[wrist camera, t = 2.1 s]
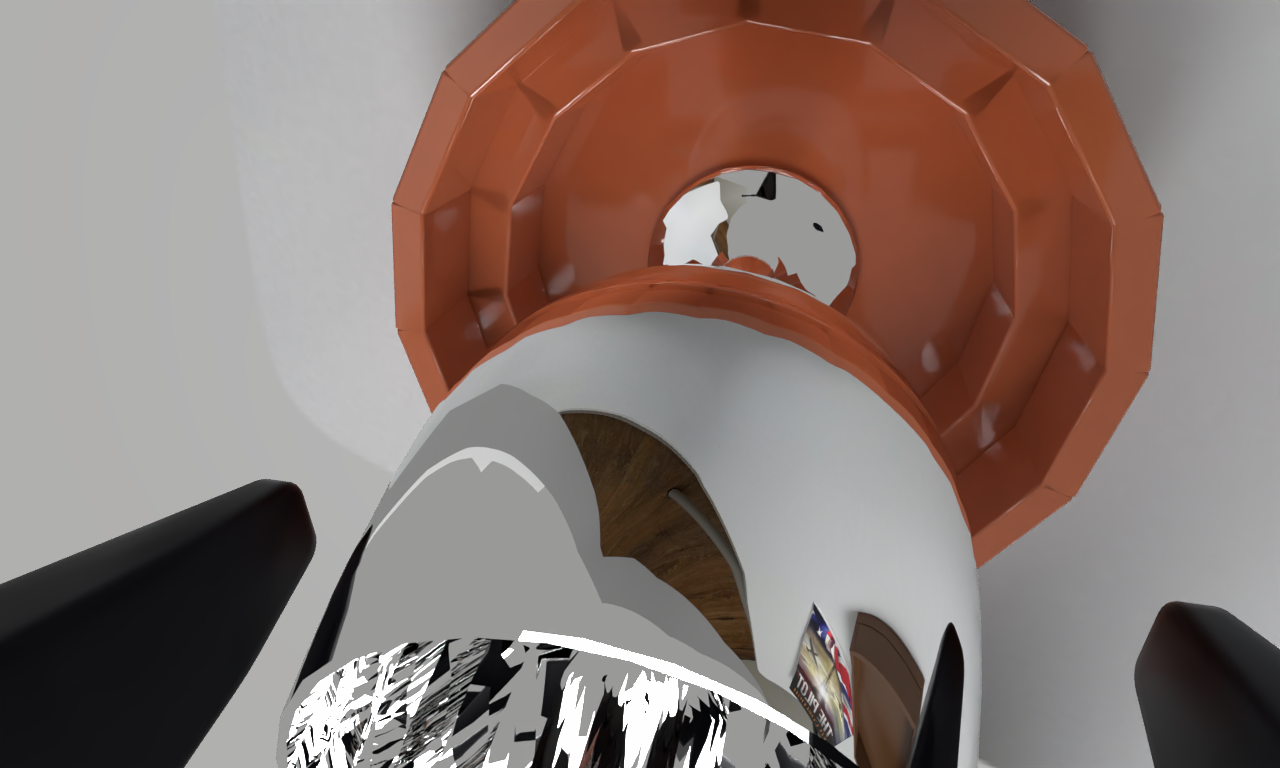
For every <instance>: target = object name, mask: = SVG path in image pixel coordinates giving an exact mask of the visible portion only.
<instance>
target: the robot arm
mask: <svg viewBox="0 0 1280 768" xmlns="http://www.w3.org/2000/svg"><path fill="white" fill-rule="evenodd" d="M315 548H316V534H315V531H314V528H313V524H312V522H311V518H310V515H309V512H308V509H307V506H306V502H305V499H304V496H303V493H302V491H301V490H300V488H299V487H298V486H297V485H296V484H294V483H292V482H286V481H278V480H271V479H261V480H257V481H254V482H252V483H250V484H247V485H245V486H243V487H240V488H237V489H235V490H232V491H230V492H227V493H225V494H222V495H220V496H217V497H215V498H212V499H210V500H207V501H205V502H203V503H200V504H198V505H195V506H193V507H190V508H188V509H185V510H183V511H180V512H178V513H175V514H173V515H170V516H168V517H165V518H163V519H161V520H158V521H156V522H153V523H151V524H148V525H146V526H143V527H141V528H138V529H136V530H133V531H131V532H128V533H126V534H124V535H121V536H119V537H116V538H114V539H111V540H109V541H106V542H104V543H102V544H99V545H96V546H94V547H92V548H89V549H86V550H84V551H81V552H79V553H77V554H74V555H72V556H69V557H67V558H64V559H62V560H59V561H57V562H54V563H52V564H49V565H47V566H44V567H42V568H40V569H37V570H35V571H32V572H30V573H27V574H25V575H22V576H20V577H17V578H15V579H12V580H10V581H7V582H5V583H3V584H0V768H184V767H185V765H186V764H187V763H188V761H189V759H190V758H191V757H192V755H193V754H194V752H195V751H196V749H197V748H198V746H199V745H200V743H201V742H202V741H203V739H204V737H205V736H206V735H207V733H208V732H209V730H210V729H211V727H212V726H213V724H214V723H215V721H216V720H217V718H218V717H219V716H220V714H221V713H222V711H223V710H224V708H225V707H226V705H227V704H228V702H229V701H230V699H231V698H232V696H233V695H234V694H235V692H236V690H237V689H238V687H239V686H240V684H241V683H242V681H243V680H244V678H245V676H246V675H247V674H248V672H249V670H250V668H251V667H252V665H253V663H254V662H255V660H256V658H257V656H258V655H259V653H260V651H261V649H262V648H263V646H264V644H265V642H266V640H267V639H268V637H269V635H270V633H271V631H272V630H273V628H274V626H275V624H276V622H277V621H278V619H279V617H280V615H281V614H282V612H283V610H284V608H285V606H286V605H287V603H288V601H289V599H290V597H291V595H292V594H293V592H294V590H295V588H296V587H297V585H298V583H299V581H300V579H301V578H302V576H303V574H304V572H305V570H306V569H307V567H308V565H309V563H310V561H311V559H312V557H313V555H314V552H315ZM1134 680H1135V688H1136V693H1137V697H1138V701H1139V705H1140V709H1141V713H1142V718H1143V722H1144V726H1145V730H1146V734H1147V738H1148V742H1149V746H1150V751H1151V755H1152V759H1153V763H1154V767H1155V768H1280V649H1279V648H1277V647H1276V646H1274V645H1273V644H1272V643H1270V642H1269V641H1268V640H1266V639H1265V638H1264V637H1262V636H1261V635H1259V634H1258V633H1257V632H1255V631H1254V630H1253V629H1251V628H1250V627H1249V626H1247V625H1246V624H1244V623H1243V622H1242V621H1240V620H1239V619H1238V618H1236V617H1235V616H1234V615H1232V614H1231V613H1229V612H1228V611H1226V610H1224V609H1222V608H1218V607H1215V606H1208V605H1201V604H1193V603H1186V602H1179V601H1175V602H1169V603H1167V604H1165V605H1164V606H1163V607H1162V608H1161V610H1160V611H1159V613H1158V615H1157V617H1156V619H1155V621H1154V624H1153V626H1152V628H1151V630H1150V632H1149V634H1148V637H1147V639H1146V641H1145V643H1144V645H1143V648H1142V650H1141V652H1140V654H1139V656H1138V659H1137V662H1136V665H1135V673H1134Z"/></svg>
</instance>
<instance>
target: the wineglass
mask: <svg viewBox="0 0 1280 768" xmlns="http://www.w3.org/2000/svg"><path fill="white" fill-rule="evenodd" d="M859 273H860V258H859V251H858V248H857V244H856V240H855V236H854V233H853V229H852V227H851V225H850V224H849V222H848V220H847V218H846V217H845V215H844V213H843V212H842V210H841V208H840V206H839V205H838V204H837V203H836V202H835V201H834V200H833V199H832V198H831V197H830V196H829V195H828V194H827V193H826V192H825V191H824V190H823V189H822V188H821V187H819V186H818V185H816V184H814V183H813V182H811V181H809V180H807V179H806V178H804V177H802V176H801V175H799V174H797V173H794V172H790V171H787V170H784V169H780V168H777V167H773V166H762V165H742V166H736V167H730V168H724V169H721V170H719V171H716V172H714V173H711V174H709V175H706V176H704V177H701V178H700V179H698V180H697V181H695V182H694V183H692V184H691V185H689V186H688V187H686V188H685V189H683V190H682V191H681V192H680V193H679V194H678V195H677V196H676V197H675V198H674V200H673V201H672V202H671V203H670V204H669V205H668V206H667V207H666V209H665V211H664V212H663V214H662V215H661V217H660V219H659V220H658V222H657V224H656V227H655V229H654V232H653V234H652V237H651V240H650V245H649V250H648V260H647V268H640V269H634V270H628V271H623V272H619V273H616V274H613V275H610V276H607V277H604V278H601V279H597V280H594V281H591V282H588V283H585V284H584V285H582V286H580V287H578V288H576V289H574V290H572V291H570V292H568V293H567V294H565V295H563V296H561V297H559V298H557V299H555V300H553V301H552V302H550V303H548V304H547V305H545V306H544V307H542V308H541V309H539V310H538V311H536V312H535V313H533V314H532V315H530V316H529V317H527V318H526V319H524V320H523V321H521V322H520V323H518V324H517V325H515V326H514V327H512V328H511V329H510V330H508V331H507V332H506V333H505V334H503V335H502V336H501V337H500V338H499V339H498V340H497V341H496V342H494V343H493V344H492V345H491V346H490V347H489V348H488V349H487V350H486V351H485V352H484V353H483V354H482V355H481V356H480V357H479V358H478V359H477V360H476V361H475V362H474V363H473V364H472V365H471V366H470V367H469V368H468V369H467V370H466V371H465V373H464V374H463V375H462V376H461V378H460V379H459V380H458V381H457V383H456V384H455V385H454V386H453V387H452V389H451V390H450V391H449V392H448V394H447V395H446V396H445V397H444V399H443V400H442V401H441V402H440V403H439V405H438V406H437V407H436V408H435V410H434V411H433V413H432V414H431V416H430V417H429V419H428V420H427V422H426V423H425V424H424V426H423V428H422V429H421V431H420V433H419V434H418V436H417V438H416V439H415V441H414V443H413V444H412V446H411V447H410V449H409V451H408V452H407V454H406V456H405V457H404V459H403V461H402V462H401V464H400V466H399V467H398V469H397V471H396V472H395V474H394V475H393V477H392V479H391V481H390V483H389V485H388V487H387V489H386V491H385V493H384V495H383V497H382V498H381V501H380V502H379V504H378V506H377V508H376V510H375V512H374V514H373V516H372V518H371V520H370V522H369V524H368V526H367V528H366V529H365V531H364V533H363V535H362V537H361V539H360V540H359V542H358V544H357V546H356V548H355V550H354V552H353V553H352V555H351V557H350V559H349V561H348V563H347V564H346V567H345V569H344V571H343V573H342V575H341V577H340V579H339V582H338V584H337V586H336V588H335V590H334V592H333V594H332V597H331V599H330V601H329V603H328V606H327V608H326V610H325V612H324V614H323V616H322V619H321V621H320V623H319V625H318V628H317V630H316V632H315V634H314V637H313V639H312V642H311V644H310V646H309V649H308V651H307V654H306V656H305V658H304V661H303V663H302V666H301V668H300V671H299V673H298V676H297V678H296V680H295V683H294V685H293V688H292V690H291V692H290V695H289V698H288V700H287V703H286V705H285V707H284V709H283V712H282V714H281V717H280V725H279V734H278V744H277V754H276V760H277V764H278V767H279V768H978V755H979V734H980V713H981V693H982V643H981V615H980V598H979V586H978V576H977V567H976V561H975V555H974V549H973V543H972V538H971V532H970V526H969V522H968V518H967V514H966V510H965V506H964V502H963V498H962V494H961V490H960V486H959V482H958V478H957V475H956V472H955V469H954V465H953V462H952V459H951V457H950V455H949V453H948V450H947V448H946V446H945V444H944V442H943V439H942V437H941V435H940V433H939V431H938V429H937V427H936V425H935V423H934V421H933V419H932V417H931V414H930V413H929V411H928V410H927V408H926V406H925V405H924V403H923V402H922V400H921V399H920V397H919V395H918V394H917V392H916V391H915V389H914V387H913V386H912V384H911V383H910V381H909V380H908V378H907V376H906V375H905V374H904V372H903V371H902V370H901V369H900V368H899V367H898V366H897V364H896V363H895V362H894V361H893V360H892V359H891V357H890V356H889V355H888V354H887V353H886V352H885V351H884V349H883V348H882V347H881V346H880V345H879V344H878V343H877V342H876V341H875V340H874V339H873V338H871V337H870V336H869V335H868V334H867V333H866V332H865V331H864V330H863V329H861V328H860V327H859V326H858V325H857V324H856V323H855V322H853V321H852V320H850V319H849V318H847V317H846V314H847V313H848V311H849V309H850V307H851V305H852V302H853V300H854V297H855V294H856V291H857V286H858V281H859Z"/></svg>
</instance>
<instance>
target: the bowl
mask: <svg viewBox="0 0 1280 768" xmlns="http://www.w3.org/2000/svg"><path fill="white" fill-rule="evenodd" d="M742 165H762V166H773V167H777V168H780V169H784V170H787V171H790V172H794V173H797V174H799V175H801V176H802V177H804V178H806V179H807V180H809V181H811V182H813V183H814V184H816V185H818V186H819V187H821V188H822V189H823V190H824V191H825V192H826V193H827V194H828V195H829V196H830V197H831V198H832V199H833V200H834V201H835V202H836V203H837V204H838V205H839V206H840V208H841V210H842V212H843V213H844V215H845V217H846V218H847V220H848V222H849V224H850V225H851V227H852V229H853V233H854V236H855V240H856V244H857V248H858V251H859V258H860V273H859V281H858V286H857V291H856V294H855V297H854V300H853V302H852V305H851V307H850V309H849V311H848V313H847V314H846V317H847V318H849V319H850V320H852V321H853V322H855V323H856V324H857V325H858V326H859V327H860V328H861V329H863V330H864V331H865V332H866V333H867V334H868V335H869V336H870V337H871V338H873V339H874V340H875V341H876V342H877V343H878V344H879V345H880V346H881V347H882V348H883V349H884V351H885V352H886V353H887V354H888V355H889V356H890V357H891V359H892V360H893V361H894V362H895V363H896V364H897V366H898V367H899V368H900V369H901V370H902V371H903V372H904V374H905V375H906V376H907V378H908V380H909V381H910V383H911V384H912V386H913V387H914V389H915V391H916V392H917V394H918V395H919V397H920V399H921V400H922V402H923V403H924V405H925V406H926V408H927V410H928V411H929V413H930V414H931V417H932V419H933V421H934V423H935V425H936V427H937V429H938V431H939V433H940V435H941V437H942V439H943V442H944V444H945V446H946V448H947V450H948V453H949V455H950V457H951V459H952V462H953V465H954V469H955V472H956V475H957V478H958V482H959V486H960V490H961V494H962V498H963V502H964V506H965V510H966V514H967V518H968V522H969V526H970V532H971V538H972V543H973V549H974V555H975V561H976V567H977V569H978V568H980V567H981V566H982V565H984V564H985V563H987V562H988V561H989V560H991V559H992V558H993V557H995V556H996V555H997V554H999V553H1000V552H1001V551H1003V550H1004V549H1006V548H1007V547H1008V546H1010V545H1011V544H1012V543H1014V542H1015V541H1016V540H1018V539H1019V538H1020V537H1022V536H1023V535H1024V534H1026V533H1027V532H1029V531H1030V530H1031V529H1033V528H1034V527H1035V526H1037V525H1038V524H1039V523H1041V522H1042V521H1043V520H1045V519H1046V518H1048V517H1049V516H1050V515H1052V514H1053V513H1054V512H1056V511H1057V510H1058V509H1060V508H1061V507H1062V506H1064V505H1065V504H1067V503H1068V502H1069V501H1071V499H1072V497H1075V496H1076V495H1077V493H1078V491H1079V490H1080V488H1081V486H1082V485H1083V483H1084V481H1085V480H1086V478H1087V476H1088V475H1089V473H1090V471H1091V470H1092V468H1093V466H1094V465H1095V463H1096V462H1097V460H1098V458H1099V457H1100V455H1101V453H1102V452H1103V450H1104V448H1105V447H1106V445H1107V443H1108V442H1109V440H1110V438H1111V437H1112V435H1113V433H1114V432H1115V430H1116V428H1117V427H1118V425H1119V423H1120V422H1121V420H1122V418H1123V417H1124V415H1125V414H1126V412H1127V410H1128V409H1129V407H1130V405H1131V404H1132V402H1133V400H1134V399H1135V397H1136V395H1137V394H1138V392H1139V390H1140V389H1141V387H1142V385H1143V384H1144V382H1145V380H1146V379H1147V377H1148V374H1149V371H1150V369H1151V358H1152V346H1153V335H1154V323H1155V311H1156V300H1157V288H1158V276H1159V265H1160V253H1161V241H1162V230H1163V218H1164V215H1163V213H1162V212H1161V204H1160V202H1159V200H1158V198H1157V195H1156V193H1155V191H1154V189H1153V186H1152V184H1151V182H1150V180H1149V177H1148V175H1147V173H1146V171H1145V169H1144V166H1143V164H1142V162H1141V160H1140V157H1139V155H1138V153H1137V151H1136V148H1135V146H1134V144H1133V142H1132V139H1131V137H1130V135H1129V133H1128V130H1127V128H1126V126H1125V124H1124V121H1123V119H1122V117H1121V115H1120V112H1119V110H1118V108H1117V106H1116V103H1115V101H1114V99H1113V97H1112V94H1111V92H1110V90H1109V88H1108V85H1107V83H1106V81H1105V79H1104V76H1103V74H1102V72H1101V70H1100V68H1099V65H1098V63H1097V61H1096V59H1095V56H1094V54H1093V53H1092V52H1091V51H1090V50H1088V46H1087V44H1086V43H1084V42H1083V41H1082V40H1080V39H1079V38H1078V37H1076V36H1075V35H1074V34H1072V33H1071V32H1070V31H1068V30H1067V29H1066V28H1064V27H1063V26H1062V25H1060V24H1059V23H1058V22H1056V21H1055V20H1054V19H1052V18H1051V17H1050V16H1048V15H1047V14H1046V13H1044V12H1043V11H1042V10H1040V9H1039V8H1038V7H1036V6H1035V5H1034V4H1032V3H1031V2H1030V1H1028V0H514V1H513V2H512V3H511V4H510V5H509V6H508V7H507V8H506V9H505V10H504V11H503V12H502V13H501V14H500V15H499V16H498V17H497V18H496V19H495V20H494V21H492V22H491V23H490V24H489V25H488V26H487V27H486V28H485V29H484V30H483V31H482V32H481V33H480V34H479V35H478V36H477V37H476V38H475V39H474V40H473V41H472V42H470V43H469V44H468V45H467V46H466V47H465V48H464V49H463V50H462V51H461V52H460V53H459V54H458V55H457V56H456V57H455V58H454V59H453V60H452V61H451V62H450V63H449V64H447V66H446V68H445V70H444V71H443V72H442V74H441V76H440V79H439V81H438V84H437V87H436V89H435V92H434V94H433V97H432V99H431V102H430V105H429V107H428V110H427V112H426V115H425V117H424V120H423V123H422V125H421V128H420V130H419V133H418V135H417V138H416V141H415V143H414V146H413V148H412V151H411V154H410V156H409V159H408V161H407V164H406V166H405V169H404V172H403V174H402V177H401V179H400V182H399V184H398V187H397V190H396V192H395V195H394V197H393V201H394V202H393V203H392V232H393V260H394V289H395V317H396V328H397V329H398V335H399V337H400V339H401V342H402V344H403V346H404V349H405V351H406V354H407V356H408V358H409V361H410V363H411V365H412V368H413V370H414V373H415V375H416V377H417V380H418V382H419V384H420V387H421V389H422V392H423V394H424V396H425V399H426V401H427V404H428V406H429V408H430V411H431V413H433V411H434V410H435V408H436V407H437V406H438V405H439V403H440V402H441V401H442V400H443V399H444V397H445V396H446V395H447V394H448V392H449V391H450V390H451V389H452V387H453V386H454V385H455V384H456V383H457V381H458V380H459V379H460V378H461V376H462V375H463V374H464V373H465V371H466V370H467V369H468V368H469V367H470V366H471V365H472V364H473V363H474V362H475V361H476V360H477V359H478V358H479V357H480V356H481V355H482V354H483V353H484V352H485V351H486V350H487V349H488V348H489V347H490V346H491V345H492V344H493V343H494V342H496V341H497V340H498V339H499V338H500V337H501V336H502V335H503V334H505V333H506V332H507V331H508V330H510V329H511V328H512V327H514V326H515V325H517V324H518V323H520V322H521V321H523V320H524V319H526V318H527V317H529V316H530V315H532V314H533V313H535V312H536V311H538V310H539V309H541V308H542V307H544V306H545V305H547V304H548V303H550V302H552V301H553V300H555V299H557V298H559V297H561V296H563V295H565V294H567V293H568V292H570V291H572V290H574V289H576V288H578V287H580V286H582V285H584V284H585V283H588V282H591V281H594V280H597V279H601V278H604V277H607V276H610V275H613V274H616V273H619V272H623V271H628V270H634V269H640V268H647V260H648V250H649V245H650V240H651V237H652V234H653V232H654V229H655V227H656V224H657V222H658V220H659V219H660V217H661V215H662V214H663V212H664V211H665V209H666V207H667V206H668V205H669V204H670V203H671V202H672V201H673V200H674V198H675V197H676V196H677V195H678V194H679V193H680V192H681V191H682V190H683V189H685V188H686V187H688V186H689V185H691V184H692V183H694V182H695V181H697V180H698V179H700V178H701V177H704V176H706V175H709V174H711V173H714V172H716V171H719V170H721V169H724V168H730V167H736V166H742Z"/></svg>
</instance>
